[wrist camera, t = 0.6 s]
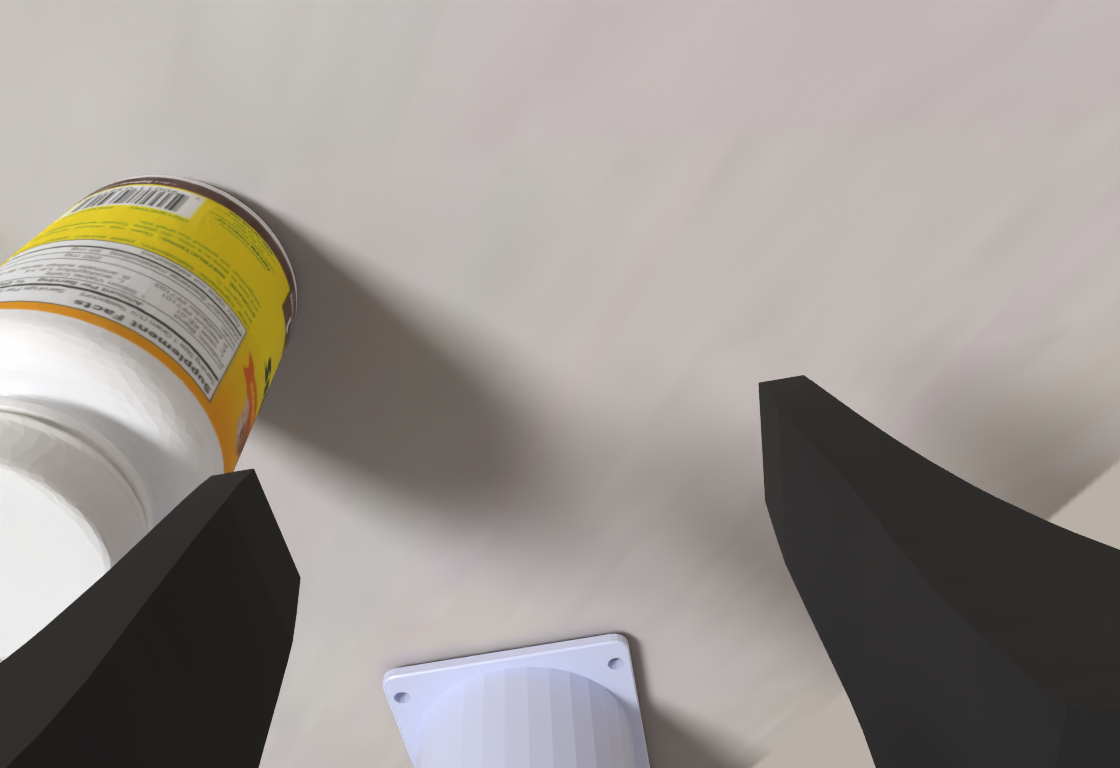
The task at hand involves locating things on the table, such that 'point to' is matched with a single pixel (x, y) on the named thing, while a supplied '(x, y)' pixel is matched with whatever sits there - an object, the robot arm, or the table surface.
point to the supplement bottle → (126, 377)
